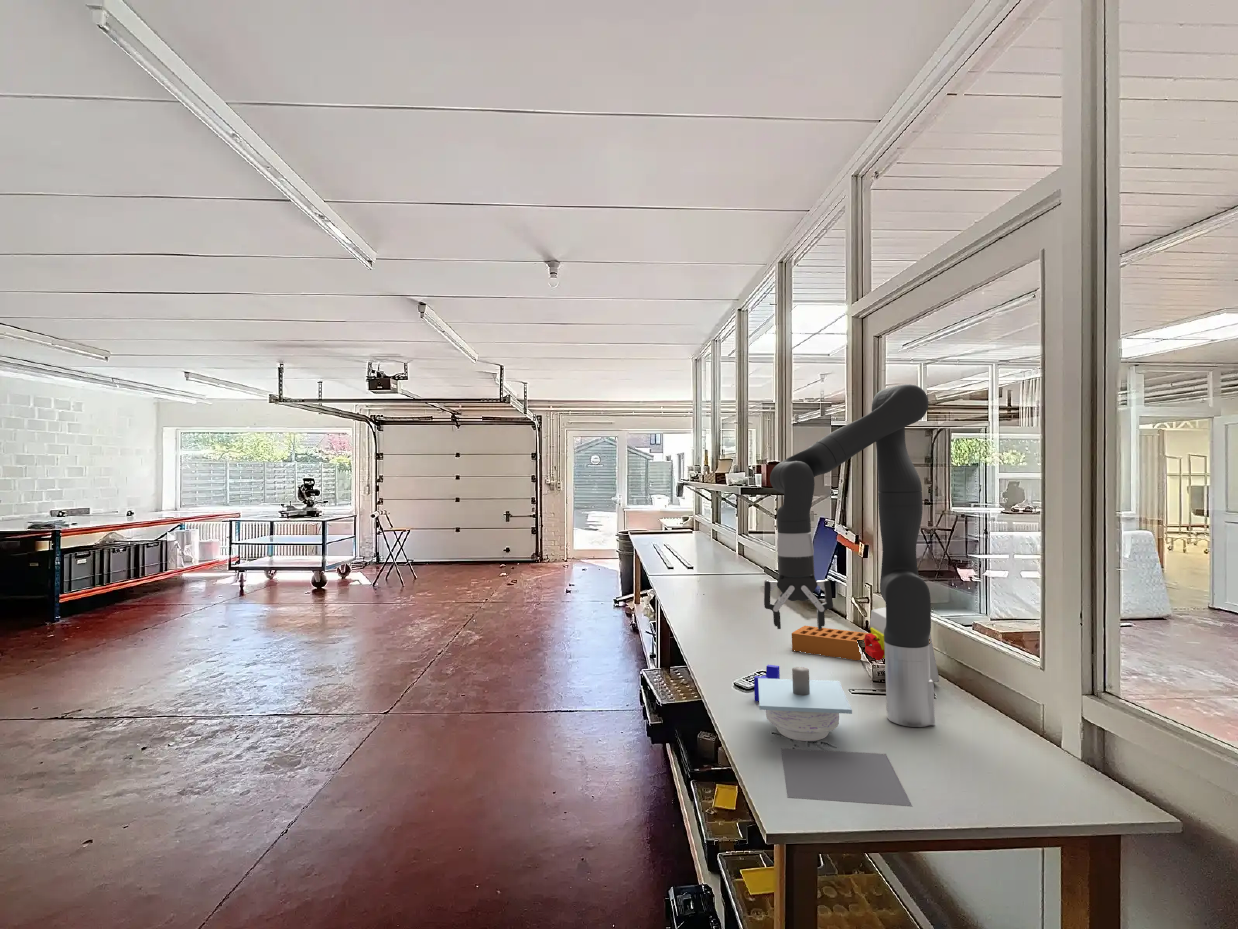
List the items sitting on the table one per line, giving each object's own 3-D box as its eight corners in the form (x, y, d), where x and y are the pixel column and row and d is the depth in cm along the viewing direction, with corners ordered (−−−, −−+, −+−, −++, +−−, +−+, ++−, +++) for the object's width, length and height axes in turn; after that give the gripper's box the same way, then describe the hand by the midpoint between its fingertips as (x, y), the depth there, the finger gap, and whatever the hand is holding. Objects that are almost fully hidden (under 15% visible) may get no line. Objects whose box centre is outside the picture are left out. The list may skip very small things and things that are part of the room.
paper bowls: (855, 740, 132) (854, 702, 132) (795, 754, 126) (793, 714, 126) (809, 716, 146) (808, 681, 146) (752, 727, 140) (751, 691, 141)
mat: (886, 756, 124) (886, 753, 124) (912, 809, 104) (912, 806, 104) (781, 750, 128) (781, 748, 128) (787, 800, 108) (787, 797, 108)
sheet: (839, 684, 143) (838, 658, 143) (852, 713, 126) (851, 684, 126) (758, 681, 147) (757, 656, 147) (759, 709, 129) (758, 681, 129)
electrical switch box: (863, 678, 178) (849, 608, 178) (915, 669, 177) (902, 599, 178) (883, 696, 163) (868, 620, 164) (940, 687, 163) (925, 610, 163)
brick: (791, 652, 200) (791, 633, 200) (805, 643, 209) (804, 625, 210) (874, 664, 185) (873, 643, 185) (884, 654, 195) (883, 634, 195)
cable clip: (763, 686, 168) (762, 664, 168) (780, 689, 165) (779, 666, 165) (748, 701, 157) (748, 676, 157) (766, 703, 155) (765, 679, 155)
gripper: (827, 550, 139) (831, 624, 139) (761, 552, 142) (764, 624, 142) (832, 554, 132) (836, 632, 131) (762, 556, 135) (766, 632, 134)
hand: (799, 628), depth 137 cm, fingers open, 8 cm apart
